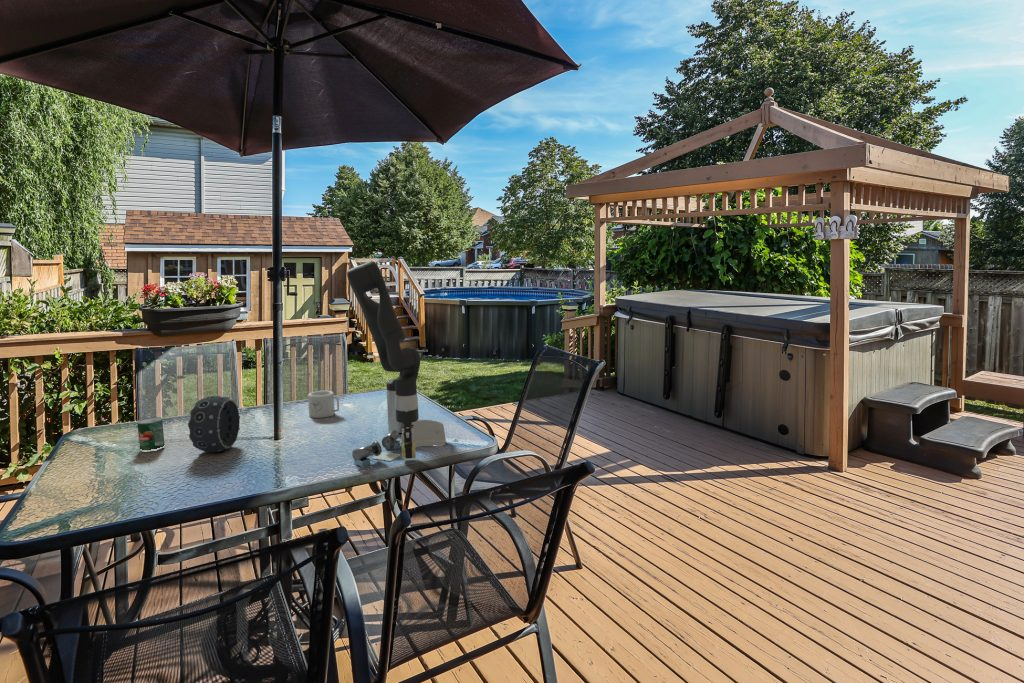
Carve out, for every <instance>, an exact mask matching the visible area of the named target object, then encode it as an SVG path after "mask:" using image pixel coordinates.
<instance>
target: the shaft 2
mask: <svg viewBox="0 0 1024 683" xmlns="http://www.w3.org/2000/svg"><path fill="white" fill-rule="evenodd" d="M399 437H400V434H398V432H397V431H395V430H392V431H391V432H388V434H387V435H385V436H384V437H383V438H382V440H381V447H383V448H384V449H385V450H399V449H400V448H401V440H398V439H399ZM399 447H400V448H399Z"/></svg>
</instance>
